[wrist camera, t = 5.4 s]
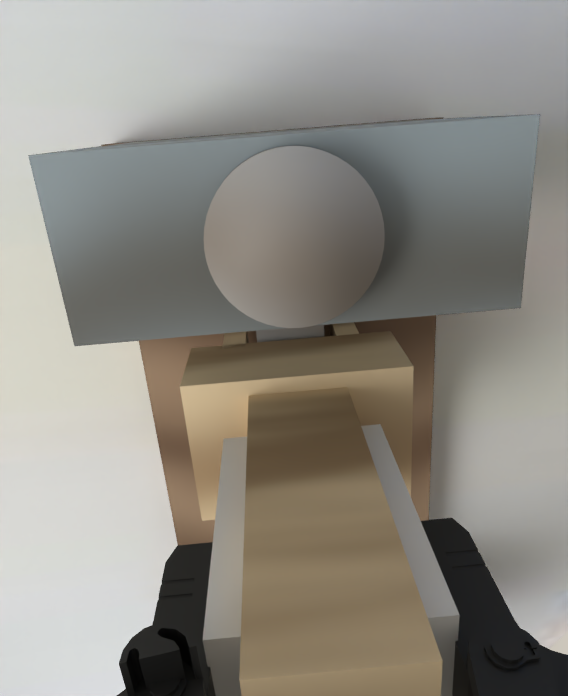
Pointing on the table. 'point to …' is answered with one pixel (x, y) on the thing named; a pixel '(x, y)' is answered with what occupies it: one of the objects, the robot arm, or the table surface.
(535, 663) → the robot arm
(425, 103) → the table surface
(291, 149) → the rail track
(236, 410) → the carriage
